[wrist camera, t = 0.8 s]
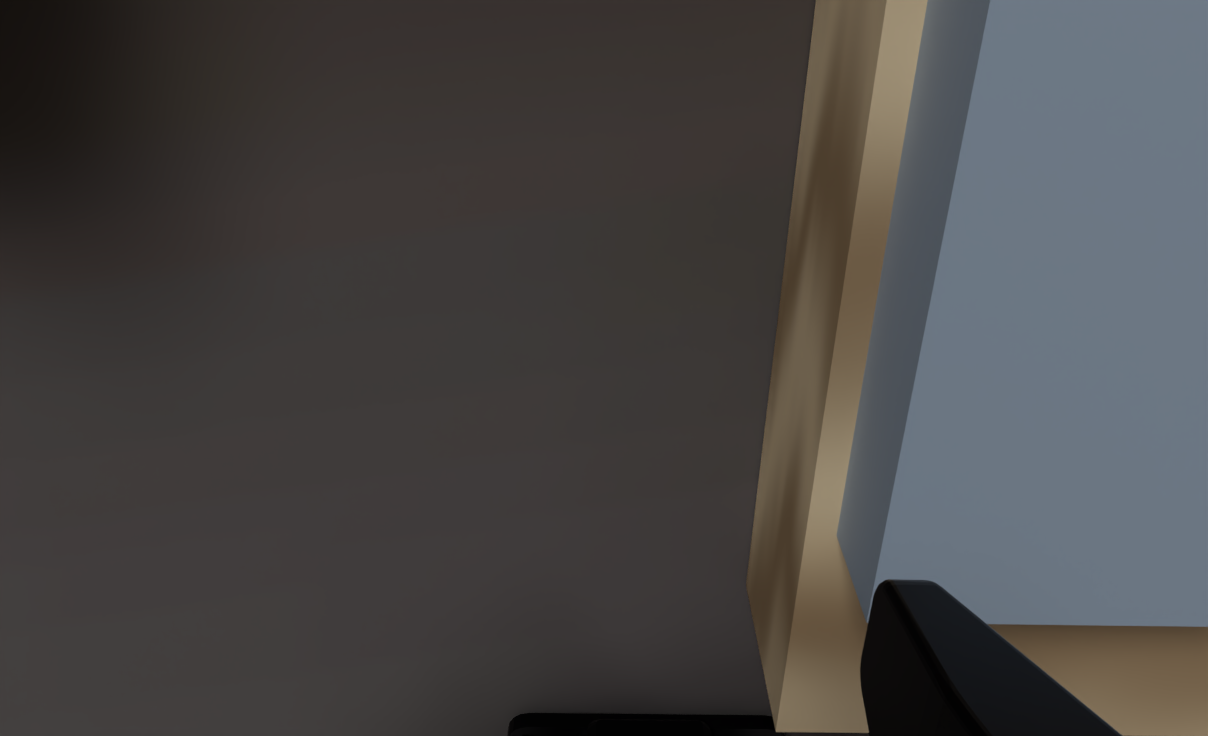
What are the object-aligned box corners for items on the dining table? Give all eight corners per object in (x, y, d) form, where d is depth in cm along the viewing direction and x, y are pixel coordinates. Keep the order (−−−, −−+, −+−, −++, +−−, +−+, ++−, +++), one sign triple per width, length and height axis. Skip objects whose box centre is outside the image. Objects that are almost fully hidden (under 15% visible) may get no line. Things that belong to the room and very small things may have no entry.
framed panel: (1109, 589, 22) (1208, 736, 18) (745, 585, 22) (775, 731, 18) (1469, -454, 13) (1786, -556, 10) (872, -474, 13) (975, -586, 10)
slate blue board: (1204, 539, 16) (1279, 628, 14) (836, 535, 16) (866, 622, 14) (1440, -61, 12) (1588, -43, 10) (940, -76, 12) (1001, -58, 10)
